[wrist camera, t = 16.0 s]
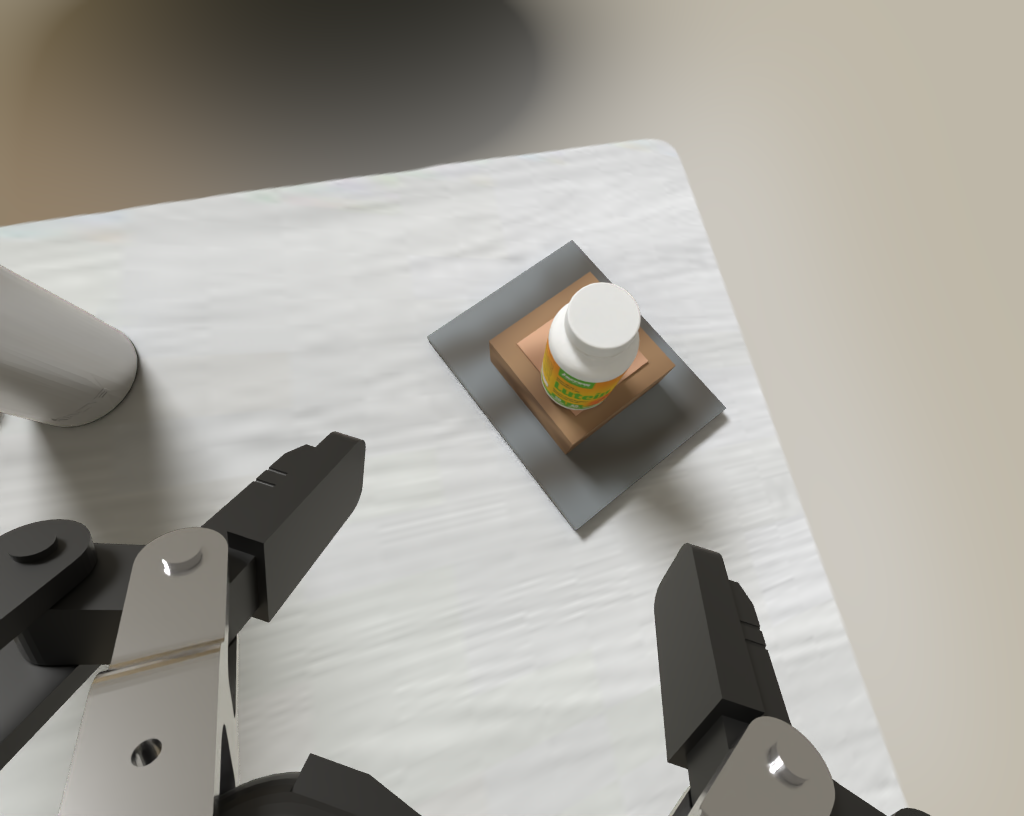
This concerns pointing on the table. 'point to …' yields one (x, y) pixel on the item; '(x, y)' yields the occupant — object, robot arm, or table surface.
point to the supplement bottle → (590, 346)
